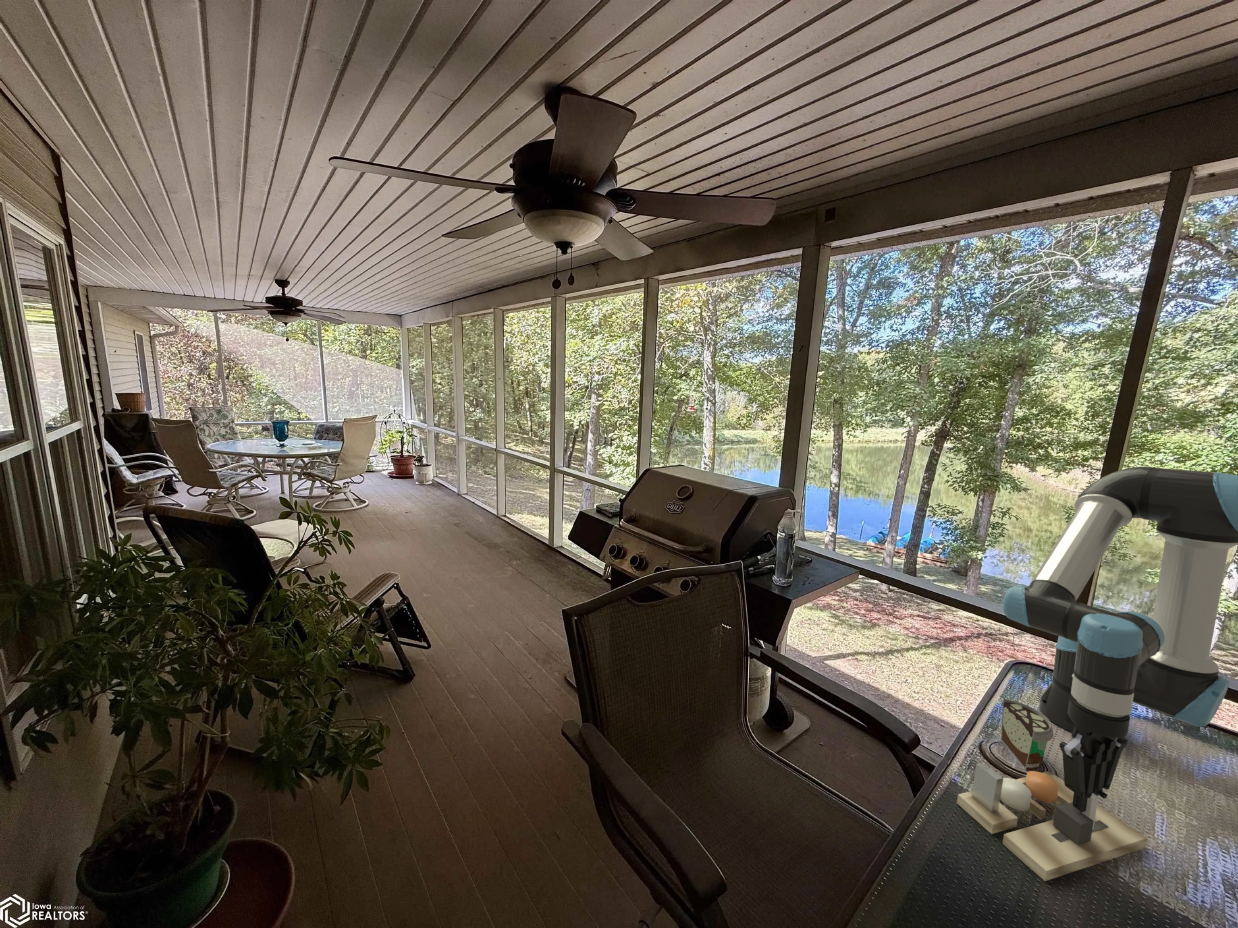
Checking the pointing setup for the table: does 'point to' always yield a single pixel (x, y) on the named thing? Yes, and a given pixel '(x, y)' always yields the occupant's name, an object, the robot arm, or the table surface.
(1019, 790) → the white egg
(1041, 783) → the brown egg
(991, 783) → the toggle lever
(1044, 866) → the beige flat pieces
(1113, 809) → the table surface
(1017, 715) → the food container
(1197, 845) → the table surface
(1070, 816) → the slider knob
